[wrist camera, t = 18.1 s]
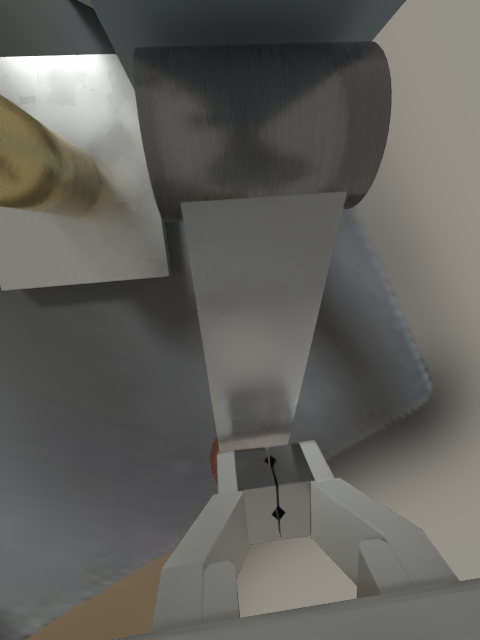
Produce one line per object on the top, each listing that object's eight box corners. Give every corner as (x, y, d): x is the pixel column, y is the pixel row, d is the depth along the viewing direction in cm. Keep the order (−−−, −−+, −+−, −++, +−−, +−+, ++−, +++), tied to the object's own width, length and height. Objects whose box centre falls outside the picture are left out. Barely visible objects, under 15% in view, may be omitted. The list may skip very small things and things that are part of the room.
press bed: (-41, 76, 20) (-68, 59, 18) (144, 70, 21) (138, 53, 19) (18, 286, 24) (1, 290, 22) (172, 273, 25) (169, 276, 23)
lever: (134, 42, 5) (82, 59, 2) (339, 36, 5) (477, 47, 3) (211, 441, 15) (216, 517, 12) (276, 432, 15) (292, 506, 13)
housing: (19, 143, 19) (-228, 22, 8) (92, 140, 20) (-52, 19, 9) (37, 218, 21) (-156, 198, 10) (106, 213, 21) (-5, 189, 10)
